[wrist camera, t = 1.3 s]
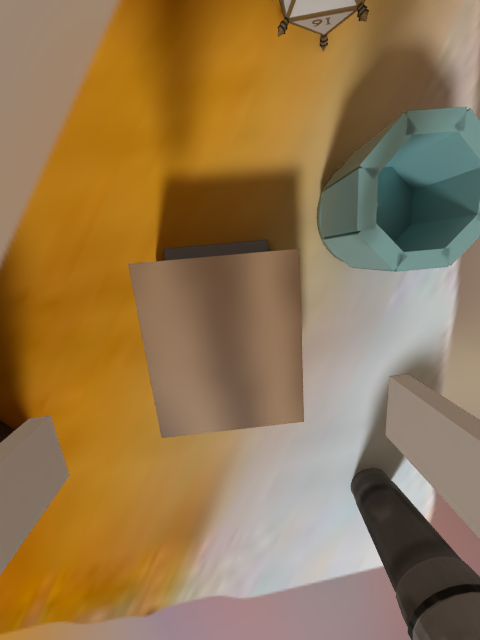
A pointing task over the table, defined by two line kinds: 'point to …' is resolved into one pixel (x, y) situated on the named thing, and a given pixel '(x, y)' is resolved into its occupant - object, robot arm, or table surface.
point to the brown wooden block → (222, 340)
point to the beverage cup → (418, 563)
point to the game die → (320, 15)
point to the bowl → (407, 194)
